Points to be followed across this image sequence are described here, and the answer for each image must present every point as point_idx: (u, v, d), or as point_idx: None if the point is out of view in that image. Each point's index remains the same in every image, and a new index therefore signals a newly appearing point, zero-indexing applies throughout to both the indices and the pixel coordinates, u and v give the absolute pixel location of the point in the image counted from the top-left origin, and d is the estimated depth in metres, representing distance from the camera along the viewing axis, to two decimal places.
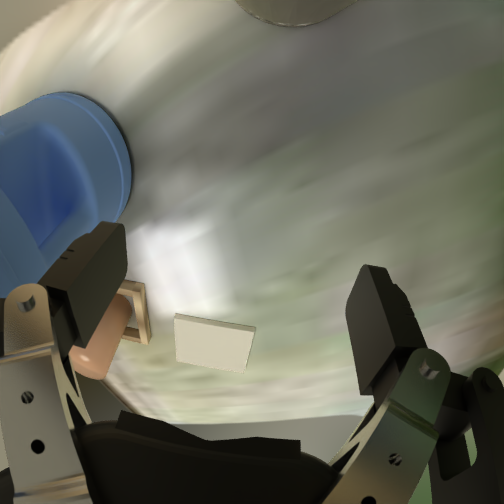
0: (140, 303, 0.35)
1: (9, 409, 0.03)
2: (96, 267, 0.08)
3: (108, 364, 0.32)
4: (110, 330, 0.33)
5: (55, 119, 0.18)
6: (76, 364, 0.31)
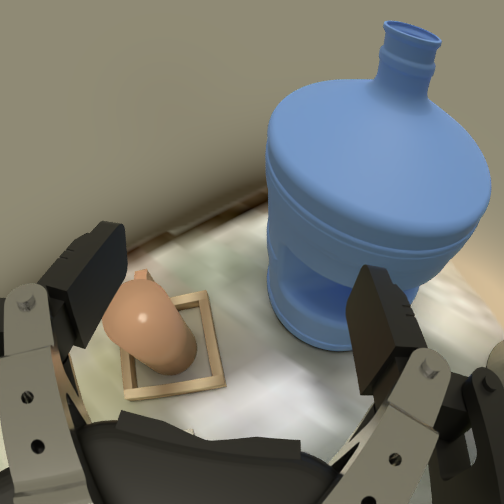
0: (204, 386, 0.28)
1: (9, 409, 0.03)
2: (96, 267, 0.08)
3: (141, 352, 0.23)
4: (175, 353, 0.26)
5: None
6: (129, 301, 0.24)
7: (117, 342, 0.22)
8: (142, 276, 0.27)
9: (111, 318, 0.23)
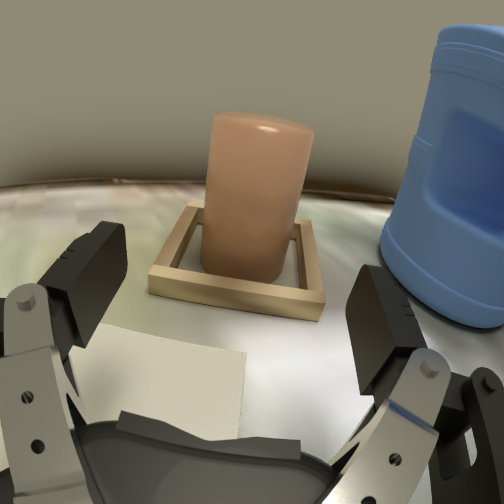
0: (293, 297, 0.18)
1: (9, 409, 0.03)
2: (96, 267, 0.08)
3: (257, 150, 0.16)
4: (281, 212, 0.18)
5: None
6: (258, 117, 0.18)
7: (231, 123, 0.15)
8: None
9: (228, 116, 0.17)
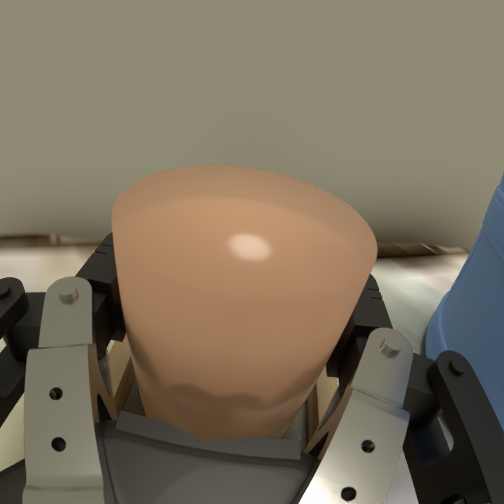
0: None
1: (35, 402, 0.04)
2: None
3: (219, 344, 0.05)
4: (283, 417, 0.08)
5: None
6: (234, 188, 0.08)
7: (139, 252, 0.05)
8: None
9: (155, 197, 0.07)
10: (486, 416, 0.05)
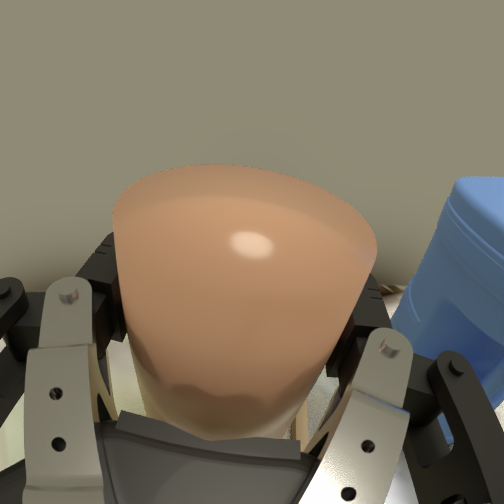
0: None
1: (35, 402, 0.04)
2: None
3: (220, 342, 0.05)
4: (283, 416, 0.08)
5: None
6: (234, 187, 0.08)
7: (140, 251, 0.05)
8: None
9: (156, 197, 0.07)
10: (485, 416, 0.05)
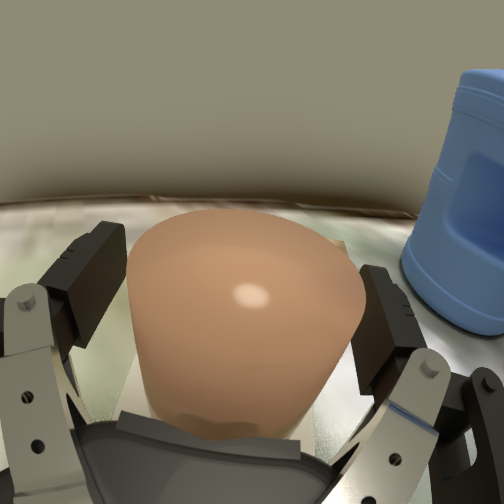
0: None
1: (9, 409, 0.03)
2: (96, 267, 0.08)
3: (226, 391, 0.06)
4: None
5: None
6: (236, 239, 0.09)
7: (155, 316, 0.06)
8: None
9: (164, 253, 0.08)
10: None
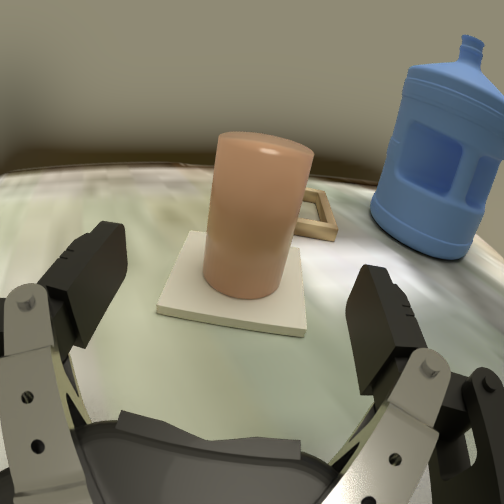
0: (320, 225, 0.32)
1: (9, 409, 0.03)
2: (96, 267, 0.08)
3: (261, 173, 0.17)
4: (282, 230, 0.19)
5: None
6: (260, 138, 0.20)
7: (236, 146, 0.17)
8: None
9: (232, 138, 0.19)
10: None
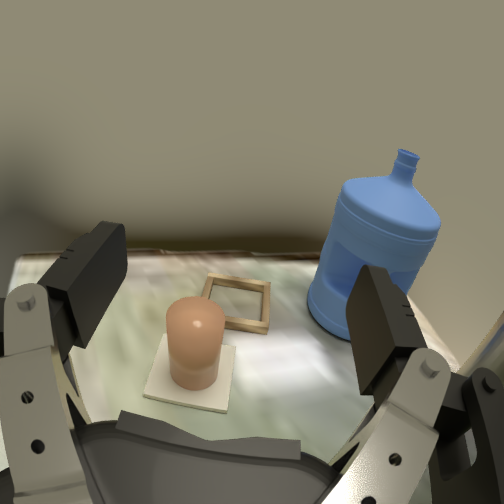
0: (255, 325, 0.44)
1: (9, 409, 0.03)
2: (96, 267, 0.08)
3: (190, 346, 0.29)
4: (208, 364, 0.32)
5: None
6: (192, 309, 0.32)
7: (175, 332, 0.29)
8: None
9: (174, 315, 0.31)
10: None
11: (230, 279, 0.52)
